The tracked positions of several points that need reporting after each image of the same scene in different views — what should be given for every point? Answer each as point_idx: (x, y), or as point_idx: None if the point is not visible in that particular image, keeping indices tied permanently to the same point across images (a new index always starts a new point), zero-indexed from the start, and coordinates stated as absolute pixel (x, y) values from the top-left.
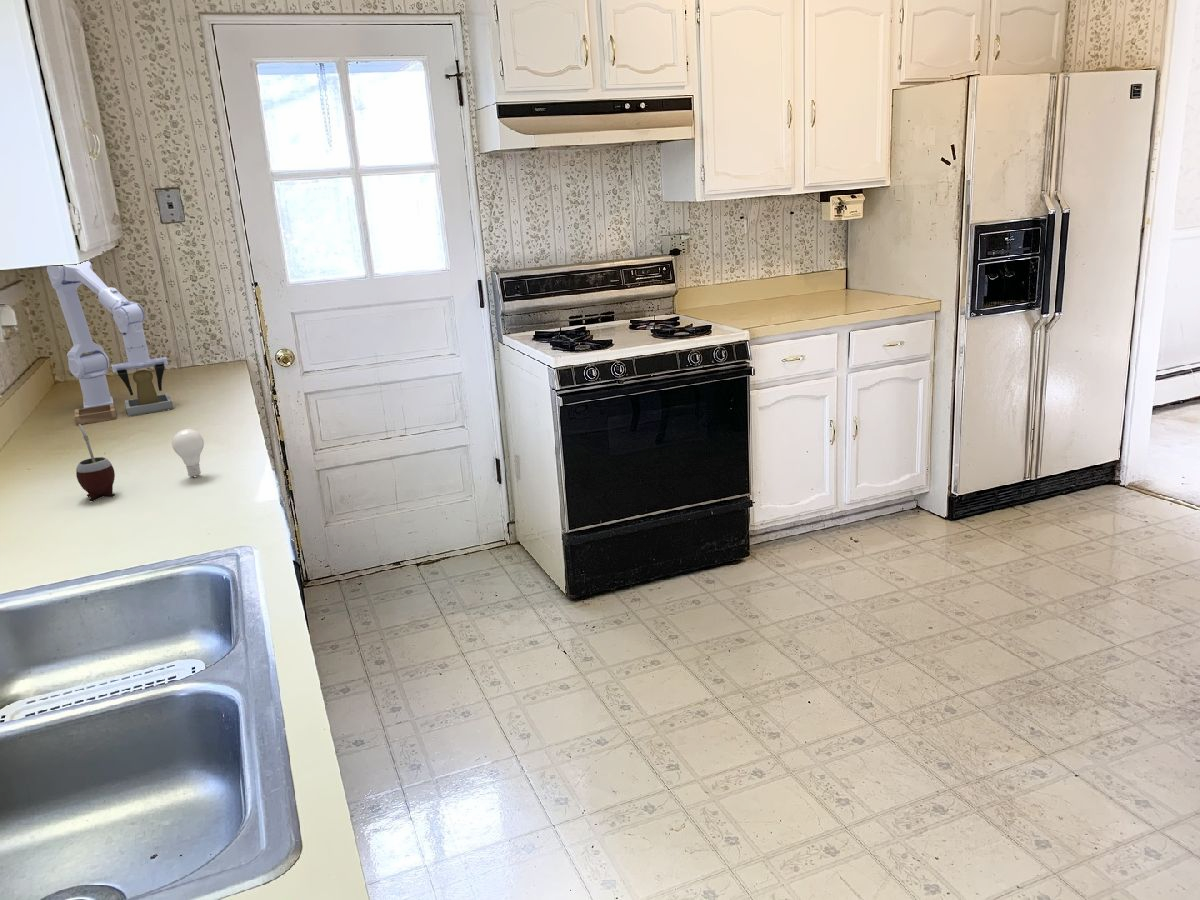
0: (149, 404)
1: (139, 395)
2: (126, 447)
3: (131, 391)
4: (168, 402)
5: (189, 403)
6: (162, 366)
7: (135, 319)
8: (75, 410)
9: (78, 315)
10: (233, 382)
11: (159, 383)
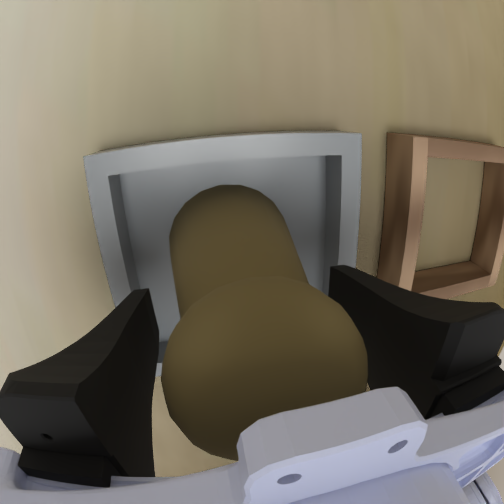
0: (225, 142)
1: (290, 243)
2: None
3: (347, 271)
4: (106, 151)
5: (40, 248)
6: (18, 425)
7: None
8: (498, 269)
9: None
10: (9, 444)
11: (124, 311)
